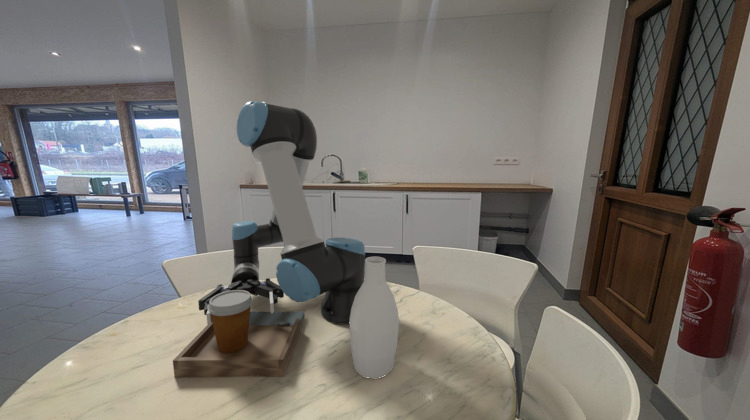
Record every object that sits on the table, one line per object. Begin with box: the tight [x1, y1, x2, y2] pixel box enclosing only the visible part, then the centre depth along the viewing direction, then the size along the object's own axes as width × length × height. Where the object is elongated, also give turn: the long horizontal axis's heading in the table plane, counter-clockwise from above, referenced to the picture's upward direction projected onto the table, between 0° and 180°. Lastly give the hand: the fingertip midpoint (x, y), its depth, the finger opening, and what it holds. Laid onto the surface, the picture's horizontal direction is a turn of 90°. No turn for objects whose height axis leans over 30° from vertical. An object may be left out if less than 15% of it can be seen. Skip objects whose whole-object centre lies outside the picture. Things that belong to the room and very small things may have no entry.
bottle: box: [349, 256, 400, 378], centre depth 61 cm, size 11×11×25 cm
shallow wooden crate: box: [172, 310, 305, 378], centre depth 70 cm, size 23×23×4 cm
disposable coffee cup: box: [207, 290, 254, 353], centre depth 66 cm, size 10×10×12 cm
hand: (241, 313), depth 66 cm, fingers open, 13 cm apart
